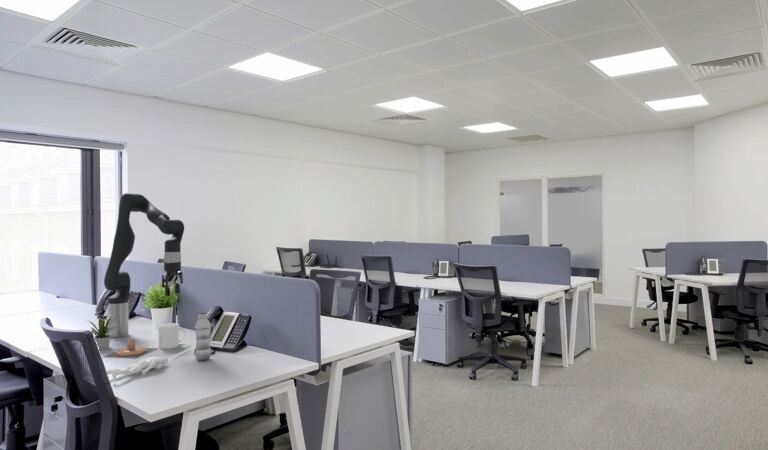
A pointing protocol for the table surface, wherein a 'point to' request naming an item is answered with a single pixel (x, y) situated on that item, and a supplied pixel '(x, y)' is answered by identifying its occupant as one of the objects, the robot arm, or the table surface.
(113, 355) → the mat
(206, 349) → the plastic bottle
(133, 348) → the lid
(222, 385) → the table surface
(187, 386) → the table surface
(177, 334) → the mug
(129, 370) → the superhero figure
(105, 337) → the house plant
